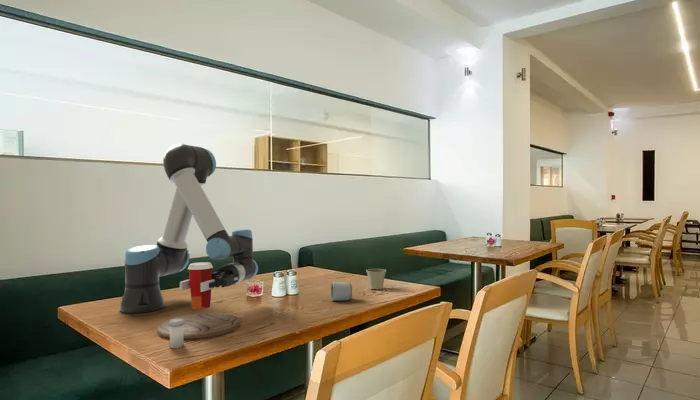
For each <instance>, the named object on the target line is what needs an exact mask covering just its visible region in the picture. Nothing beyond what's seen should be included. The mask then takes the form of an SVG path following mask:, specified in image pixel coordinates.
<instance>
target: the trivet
mask: <svg viewBox="0 0 700 400" xmlns="http://www.w3.org/2000/svg"><path fill="white" fill-rule="evenodd" d="M173 319H184V341H198V340H199V341H200V339H201V340H208V339H214V338H218V337H223V336H225V335H228V334H230V333H233V332H235V331H236V330H238V329H239V328H240V326H241V319H240V317H238V316H237V315H234V314H230V313H224V312H200V313H193V314H191V313H190V314H185V315H180V316H176V317H173V318H170V319H167V320H165V321H162V322H160V324H158V326H157V334H159V335H158V336H159V337H161V338H163V337H164V338H163V339H166V338H168V339H167V340H170V326H169V321H170V320H173ZM213 337H214V338H213Z"/></svg>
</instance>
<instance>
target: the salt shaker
mask: <svg viewBox="0 0 700 400" xmlns="http://www.w3.org/2000/svg"><path fill="white" fill-rule="evenodd" d="M169 326H170V339H169V348H170V347H171V348H170V349H178V348H177V347H180V348H183V347H184V346H185V345H184V343H185V342H184V341H185V340H184V319H173V320H170V321H169ZM183 345H184V346H183ZM182 346H183V347H182Z"/></svg>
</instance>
